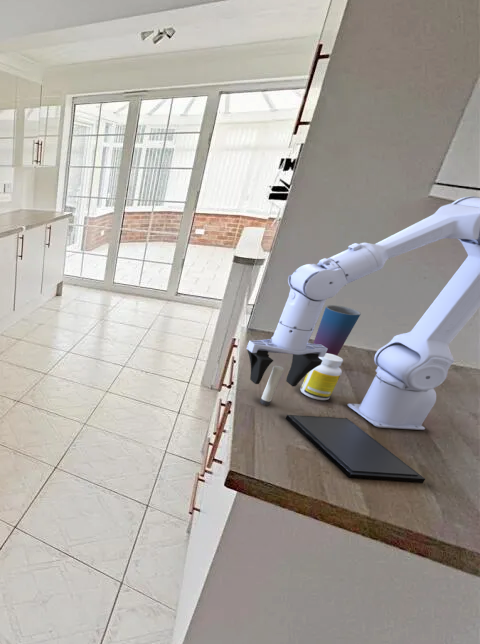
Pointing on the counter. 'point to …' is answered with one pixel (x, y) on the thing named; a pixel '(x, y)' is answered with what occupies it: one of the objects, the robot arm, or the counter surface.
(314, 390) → the supplement bottle
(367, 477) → the tablet
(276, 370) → the stylus
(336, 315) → the cup
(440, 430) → the counter surface
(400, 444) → the counter surface
